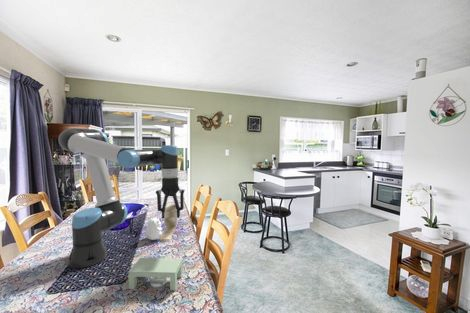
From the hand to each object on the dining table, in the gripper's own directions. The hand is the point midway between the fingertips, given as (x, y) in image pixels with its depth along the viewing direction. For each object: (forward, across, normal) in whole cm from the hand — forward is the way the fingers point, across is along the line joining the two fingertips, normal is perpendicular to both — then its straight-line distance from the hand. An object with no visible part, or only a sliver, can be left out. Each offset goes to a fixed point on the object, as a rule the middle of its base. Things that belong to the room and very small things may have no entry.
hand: (171, 224), depth 107 cm
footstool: (+16, -3, -19) cm, 25 cm away
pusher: (+2, 0, -7) cm, 7 cm away
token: (+17, -2, -20) cm, 26 cm away
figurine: (+16, -14, +22) cm, 31 cm away
